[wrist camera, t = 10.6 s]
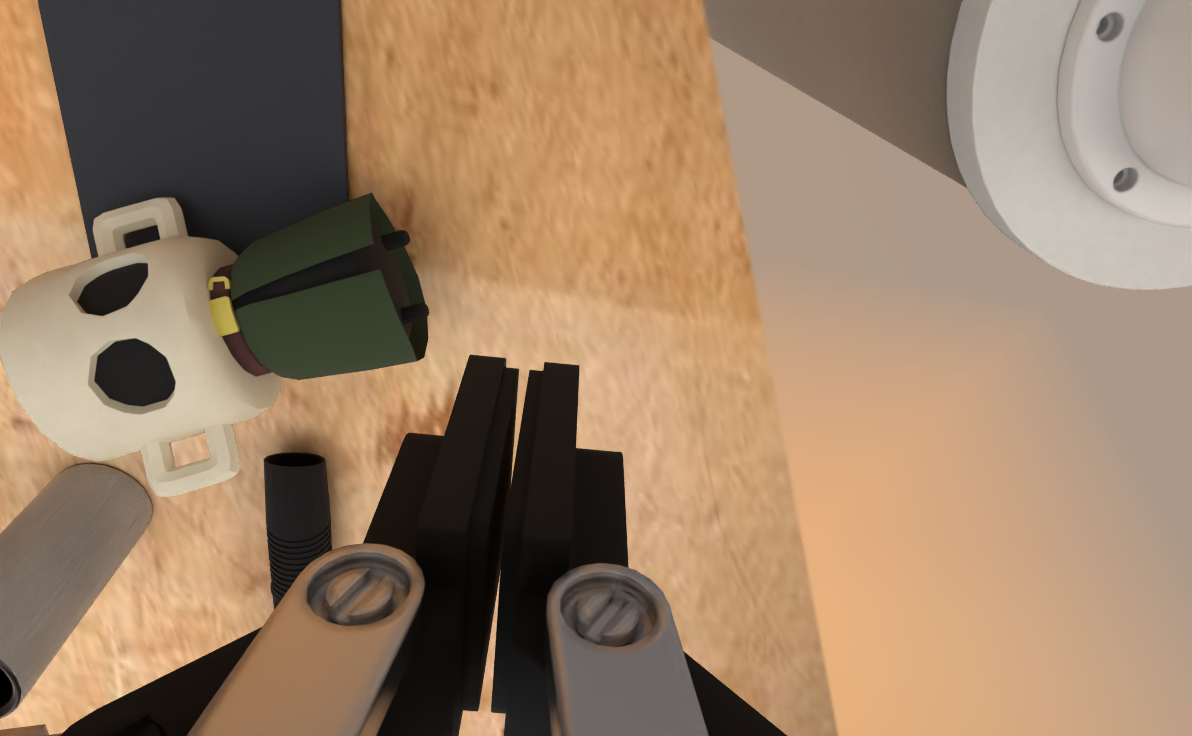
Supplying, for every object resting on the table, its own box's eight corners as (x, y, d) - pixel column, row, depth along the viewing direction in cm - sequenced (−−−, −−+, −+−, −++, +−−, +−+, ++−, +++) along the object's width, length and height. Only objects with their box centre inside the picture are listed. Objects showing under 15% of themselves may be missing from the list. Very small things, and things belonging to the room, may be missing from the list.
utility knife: (346, 740, 45) (333, 789, 43) (276, 736, 45) (258, 785, 42) (336, 434, 35) (318, 474, 32) (246, 427, 35) (220, 466, 32)
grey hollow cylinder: (163, 483, 36) (30, 661, 27) (142, 550, 38) (10, 738, 29) (60, 448, 35) (-115, 621, 26) (44, 519, 37) (-125, 704, 28)
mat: (337, -88, 25) (334, -89, 25) (356, 363, 33) (353, 368, 33) (17, -129, 25) (9, -130, 24) (115, 344, 33) (110, 349, 32)
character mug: (433, 410, 24) (32, 525, 24) (473, 419, 31) (164, 507, 31) (350, 91, 25) (-35, 198, 25) (407, 169, 32) (108, 253, 32)
